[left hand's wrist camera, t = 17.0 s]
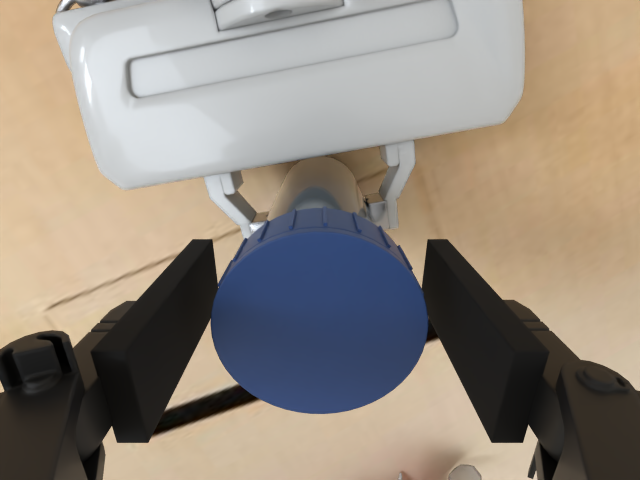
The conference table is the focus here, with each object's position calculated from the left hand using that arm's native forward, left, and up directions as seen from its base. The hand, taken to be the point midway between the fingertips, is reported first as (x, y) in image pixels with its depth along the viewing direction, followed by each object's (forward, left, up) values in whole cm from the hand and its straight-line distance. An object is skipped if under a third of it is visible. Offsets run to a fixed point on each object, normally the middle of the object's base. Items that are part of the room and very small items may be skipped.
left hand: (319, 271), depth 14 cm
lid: (0, 0, +4) cm, 4 cm away
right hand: (-1, 0, -6) cm, 6 cm away
